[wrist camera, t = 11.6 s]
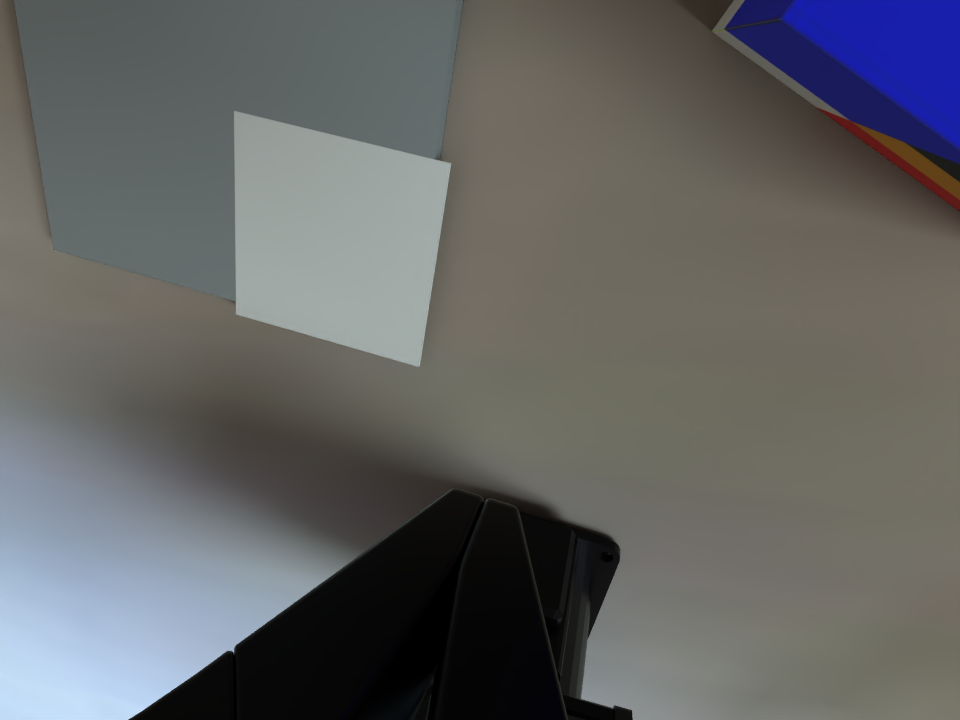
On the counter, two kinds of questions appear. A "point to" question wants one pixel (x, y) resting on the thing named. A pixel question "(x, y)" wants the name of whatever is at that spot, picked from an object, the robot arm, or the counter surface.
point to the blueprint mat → (252, 151)
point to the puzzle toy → (868, 72)
